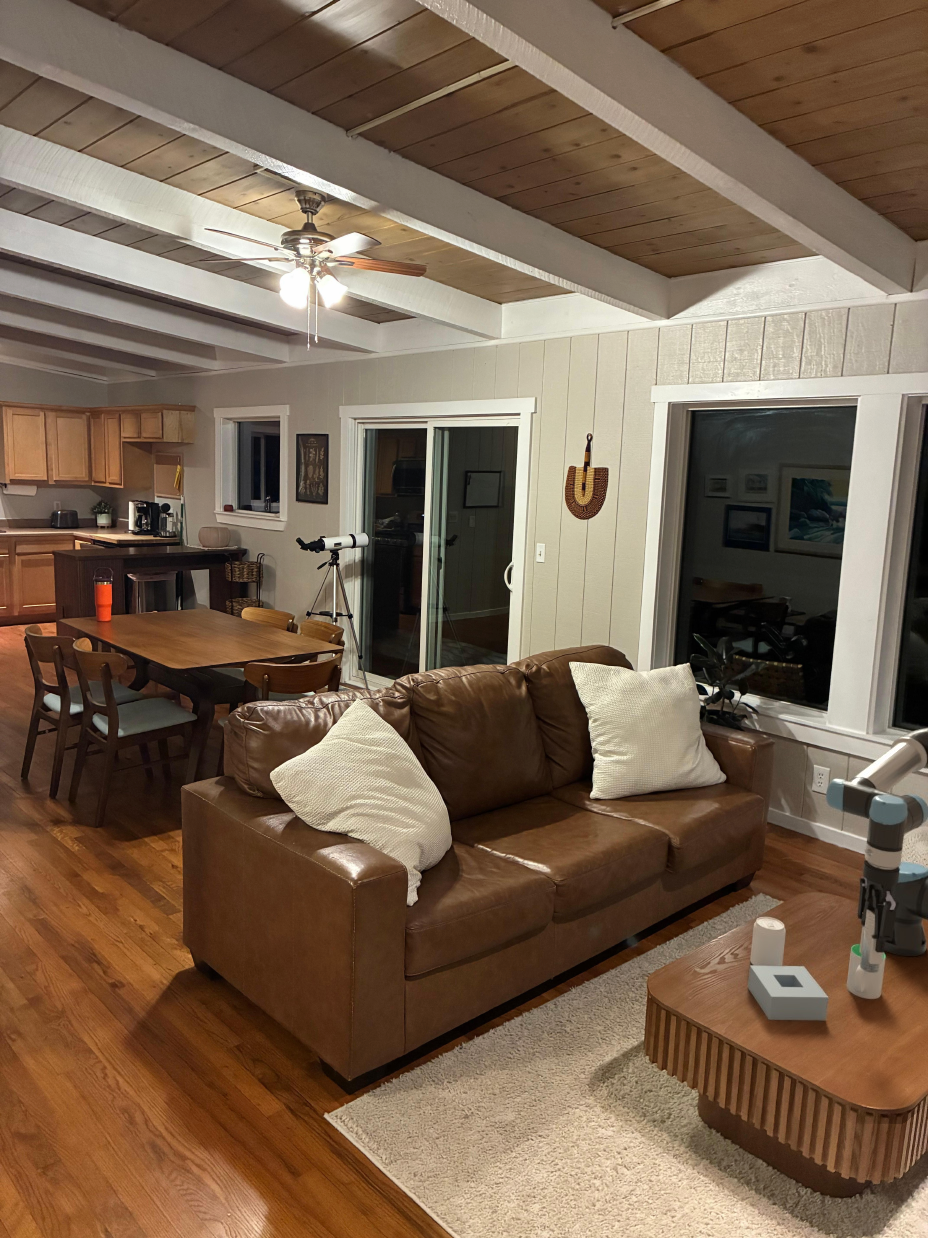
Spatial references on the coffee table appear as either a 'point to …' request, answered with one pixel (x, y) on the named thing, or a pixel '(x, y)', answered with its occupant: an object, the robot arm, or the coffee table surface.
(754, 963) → the beverage can
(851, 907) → the coffee table surface
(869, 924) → the peg
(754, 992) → the socket block
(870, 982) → the mug
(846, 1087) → the coffee table surface
